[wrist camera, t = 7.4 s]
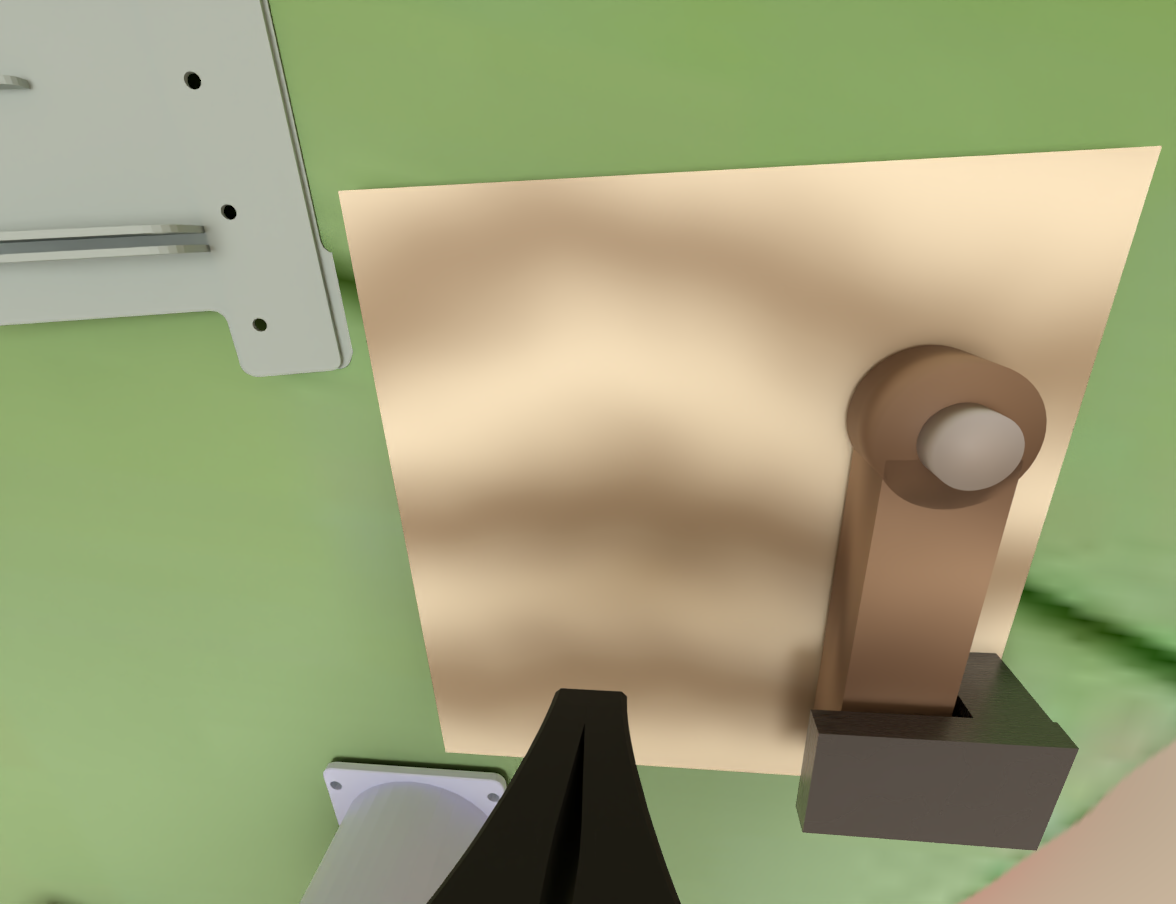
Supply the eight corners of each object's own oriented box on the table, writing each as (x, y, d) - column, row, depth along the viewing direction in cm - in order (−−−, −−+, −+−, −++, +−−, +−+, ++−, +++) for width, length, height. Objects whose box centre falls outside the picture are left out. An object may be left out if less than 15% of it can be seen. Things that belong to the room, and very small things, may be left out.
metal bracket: (-235, 433, 13) (-900, -575, 8) (-28, 377, 18) (-327, -237, 13) (378, 377, 15) (212, -444, 10) (405, 342, 21) (308, -200, 15)
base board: (947, 761, 20) (961, 786, 19) (454, 730, 22) (445, 752, 21) (1124, 152, 13) (1162, 145, 12) (357, 193, 15) (338, 191, 14)
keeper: (970, 745, 18) (1036, 850, 15) (777, 734, 19) (802, 832, 16) (999, 653, 17) (1078, 748, 14) (788, 644, 18) (818, 733, 15)
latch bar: (856, 346, 14) (904, 372, 11) (1009, 343, 13) (1095, 369, 11) (798, 750, 19) (821, 831, 17) (906, 757, 19) (947, 841, 16)
